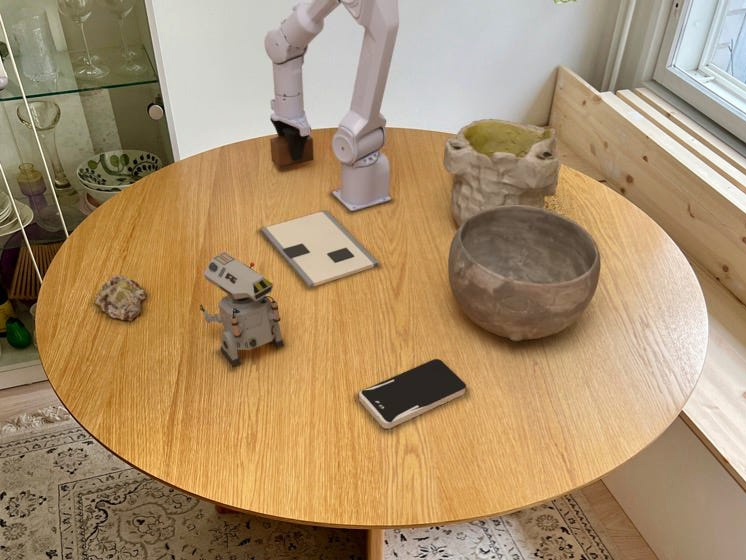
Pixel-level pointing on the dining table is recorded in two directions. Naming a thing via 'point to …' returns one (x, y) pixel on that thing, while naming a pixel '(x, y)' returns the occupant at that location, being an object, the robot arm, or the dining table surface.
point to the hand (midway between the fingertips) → (292, 154)
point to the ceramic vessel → (500, 166)
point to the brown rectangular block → (282, 152)
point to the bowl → (523, 270)
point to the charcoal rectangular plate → (340, 255)
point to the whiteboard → (318, 248)
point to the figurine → (243, 307)
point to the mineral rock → (121, 298)
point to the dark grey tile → (296, 250)
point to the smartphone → (411, 393)
